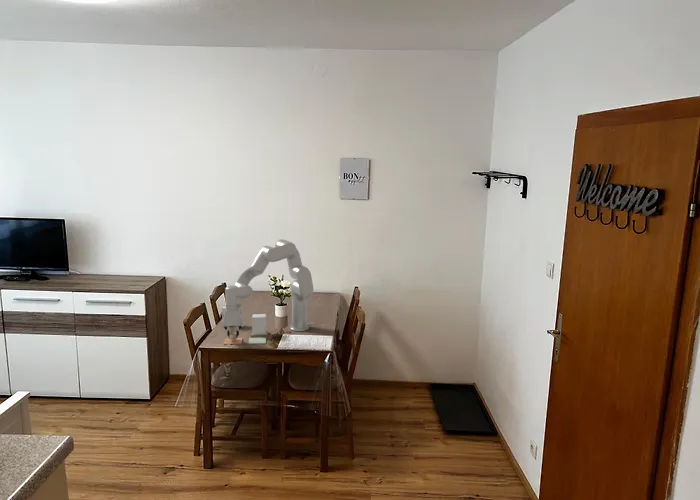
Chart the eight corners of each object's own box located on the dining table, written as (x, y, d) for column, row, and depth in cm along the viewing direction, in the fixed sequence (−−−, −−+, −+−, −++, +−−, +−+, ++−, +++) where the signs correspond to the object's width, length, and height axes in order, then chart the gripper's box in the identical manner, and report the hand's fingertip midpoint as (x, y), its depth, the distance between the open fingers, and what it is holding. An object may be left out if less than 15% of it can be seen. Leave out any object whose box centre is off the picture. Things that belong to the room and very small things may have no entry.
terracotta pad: (242, 338, 302) (242, 337, 302) (241, 344, 293) (241, 343, 293) (225, 339, 300) (225, 338, 300) (223, 344, 292) (223, 343, 292)
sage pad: (265, 338, 303) (265, 337, 303) (265, 343, 294) (265, 342, 294) (249, 338, 302) (249, 337, 301) (248, 344, 293) (248, 343, 293)
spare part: (237, 337, 299) (236, 324, 297) (236, 339, 295) (236, 326, 293) (230, 337, 298) (229, 324, 297) (229, 339, 294) (229, 326, 293)
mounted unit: (267, 332, 313) (267, 313, 311) (267, 336, 306) (267, 317, 303) (251, 332, 312) (251, 313, 310) (250, 337, 304) (250, 318, 302)
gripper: (247, 304, 298) (248, 333, 301) (218, 305, 295) (219, 335, 299) (246, 308, 290) (247, 338, 294) (216, 309, 288) (218, 339, 291)
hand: (233, 336), depth 296 cm, fingers closed on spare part, 3 cm apart
